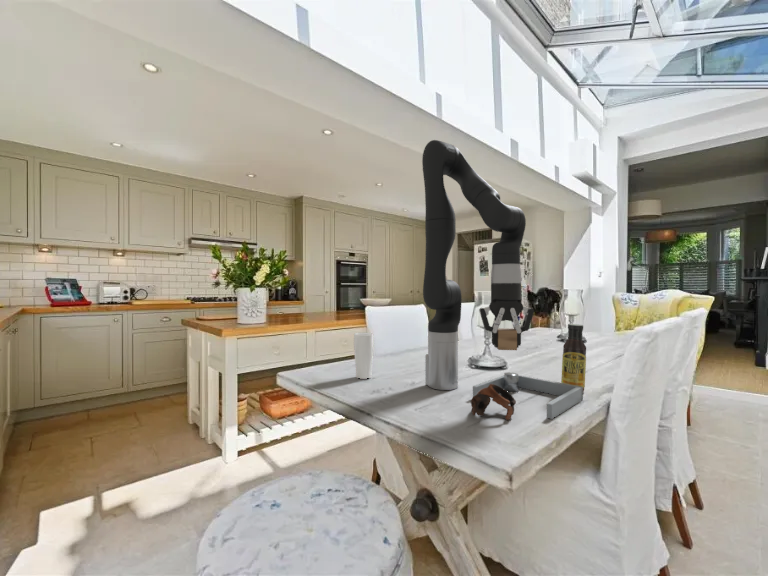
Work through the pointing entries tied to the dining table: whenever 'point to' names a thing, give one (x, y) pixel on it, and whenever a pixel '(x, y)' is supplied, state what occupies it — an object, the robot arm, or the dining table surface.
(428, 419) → the dining table surface
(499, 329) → the block
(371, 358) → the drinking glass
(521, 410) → the dining table surface
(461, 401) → the dining table surface
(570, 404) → the corral
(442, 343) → the robot arm
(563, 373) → the sauce bottle
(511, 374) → the peg
